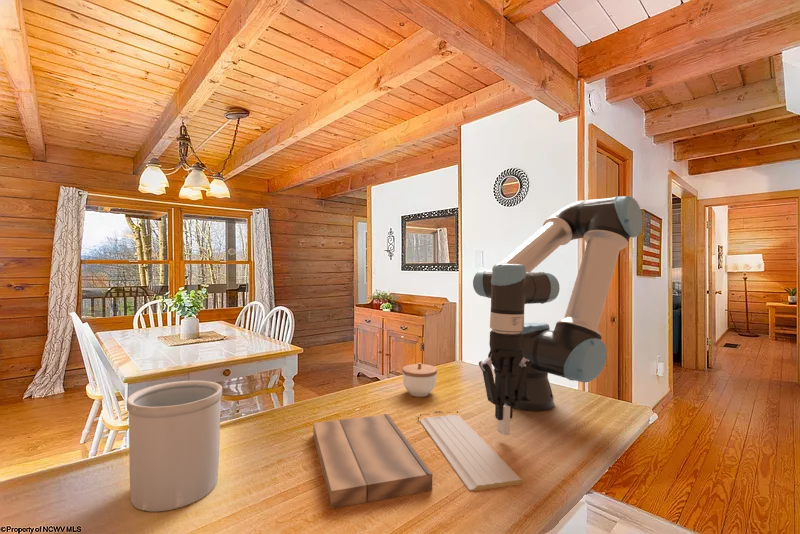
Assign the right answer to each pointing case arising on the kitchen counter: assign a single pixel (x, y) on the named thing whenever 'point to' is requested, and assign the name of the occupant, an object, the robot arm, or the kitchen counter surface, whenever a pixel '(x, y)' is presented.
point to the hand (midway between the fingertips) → (503, 432)
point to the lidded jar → (419, 379)
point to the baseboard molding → (469, 453)
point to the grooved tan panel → (368, 461)
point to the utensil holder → (173, 443)
